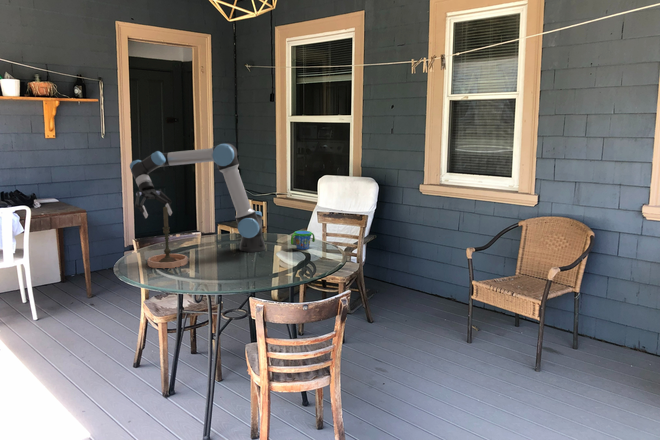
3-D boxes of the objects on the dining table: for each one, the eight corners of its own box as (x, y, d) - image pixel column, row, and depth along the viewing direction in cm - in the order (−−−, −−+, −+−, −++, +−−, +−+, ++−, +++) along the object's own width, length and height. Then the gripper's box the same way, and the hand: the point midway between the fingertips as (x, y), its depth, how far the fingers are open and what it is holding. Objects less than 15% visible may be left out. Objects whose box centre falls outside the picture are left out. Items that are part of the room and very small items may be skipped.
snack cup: (311, 245, 325) (311, 229, 323) (318, 249, 316) (318, 232, 314) (287, 248, 318) (287, 231, 317) (294, 251, 309) (294, 234, 307)
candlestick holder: (171, 264, 274) (168, 207, 268) (155, 263, 275) (152, 206, 270) (179, 260, 282) (177, 204, 277) (164, 259, 284) (161, 204, 279)
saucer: (188, 258, 291) (188, 253, 290) (186, 267, 271) (185, 262, 271) (150, 259, 287) (150, 254, 286) (145, 269, 267) (145, 263, 267)
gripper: (164, 187, 298) (178, 217, 290) (120, 190, 281) (134, 222, 273) (168, 178, 293) (182, 208, 285) (124, 181, 276) (138, 213, 268)
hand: (159, 215), depth 279 cm, fingers open, 13 cm apart
